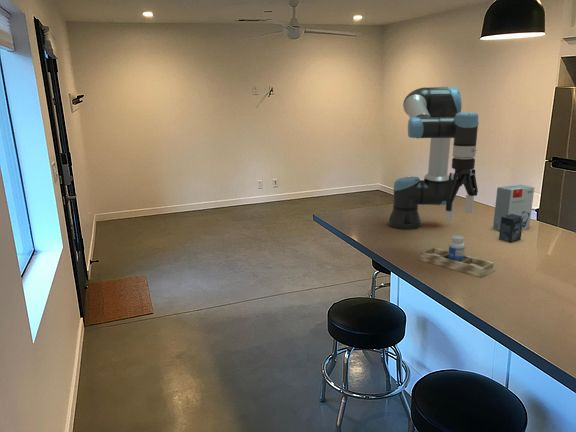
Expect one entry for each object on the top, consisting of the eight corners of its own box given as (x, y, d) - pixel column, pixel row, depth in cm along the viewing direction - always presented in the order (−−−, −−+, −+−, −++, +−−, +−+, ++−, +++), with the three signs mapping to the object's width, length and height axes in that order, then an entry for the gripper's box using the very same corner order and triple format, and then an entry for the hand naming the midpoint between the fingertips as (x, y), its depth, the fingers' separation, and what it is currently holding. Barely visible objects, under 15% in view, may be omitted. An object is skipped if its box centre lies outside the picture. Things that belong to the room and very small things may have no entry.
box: (510, 242, 198) (513, 218, 196) (498, 239, 203) (500, 216, 200) (521, 239, 203) (523, 216, 200) (509, 236, 207) (511, 213, 205)
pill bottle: (445, 259, 176) (447, 235, 174) (459, 259, 177) (461, 234, 174) (451, 265, 171) (453, 239, 169) (465, 264, 171) (468, 238, 169)
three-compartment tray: (418, 259, 180) (419, 252, 179) (433, 253, 186) (433, 246, 186) (481, 277, 162) (482, 269, 161) (495, 270, 168) (495, 262, 167)
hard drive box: (505, 233, 212) (509, 189, 207) (492, 228, 219) (496, 187, 214) (530, 228, 218) (534, 186, 213) (516, 224, 225) (520, 184, 220)
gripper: (454, 162, 154) (450, 224, 159) (490, 155, 170) (485, 211, 175) (434, 160, 159) (430, 220, 165) (471, 153, 175) (466, 208, 181)
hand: (459, 216), depth 170 cm, fingers open, 13 cm apart
